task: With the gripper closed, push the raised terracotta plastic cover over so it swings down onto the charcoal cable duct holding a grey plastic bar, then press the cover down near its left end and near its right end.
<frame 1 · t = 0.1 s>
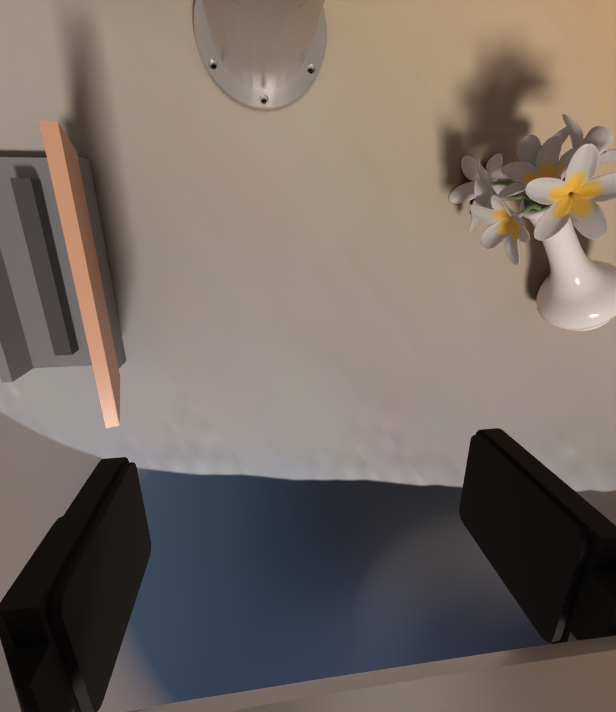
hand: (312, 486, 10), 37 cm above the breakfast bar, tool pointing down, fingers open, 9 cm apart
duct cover: (90, 283, 32), point 11 cm above the breakfast bar, hinge at 108.0°
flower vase: (515, 237, 47), on the breakfast bar
cable duct: (57, 270, 41), on the breakfast bar
grey plastic bar: (57, 270, 41), resting on cable duct
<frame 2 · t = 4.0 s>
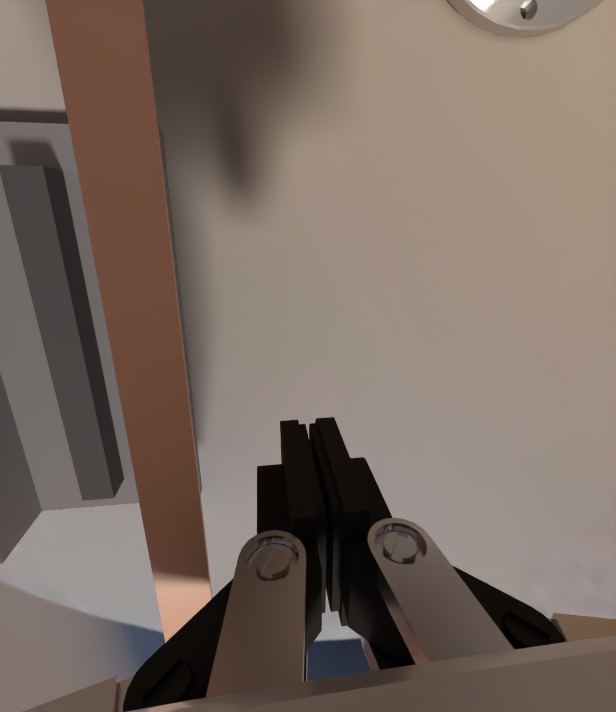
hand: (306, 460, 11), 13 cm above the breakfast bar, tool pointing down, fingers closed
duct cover: (177, 435, 12), point 11 cm above the breakfast bar, hinge at 102.1°, touching gripper
cable duct: (88, 342, 22), on the breakfast bar
grey plastic bar: (88, 342, 22), resting on cable duct
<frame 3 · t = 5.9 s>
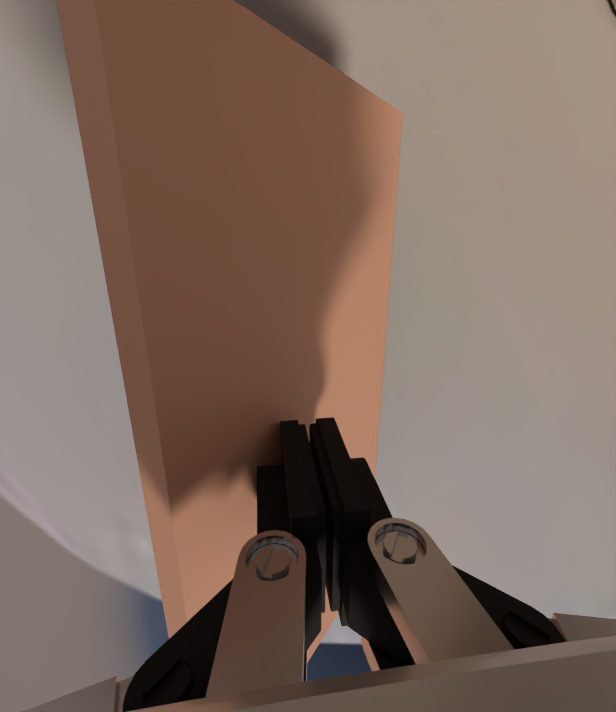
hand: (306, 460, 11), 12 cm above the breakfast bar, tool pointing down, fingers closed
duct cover: (303, 435, 13), point 10 cm above the breakfast bar, hinge at 47.9°, touching gripper
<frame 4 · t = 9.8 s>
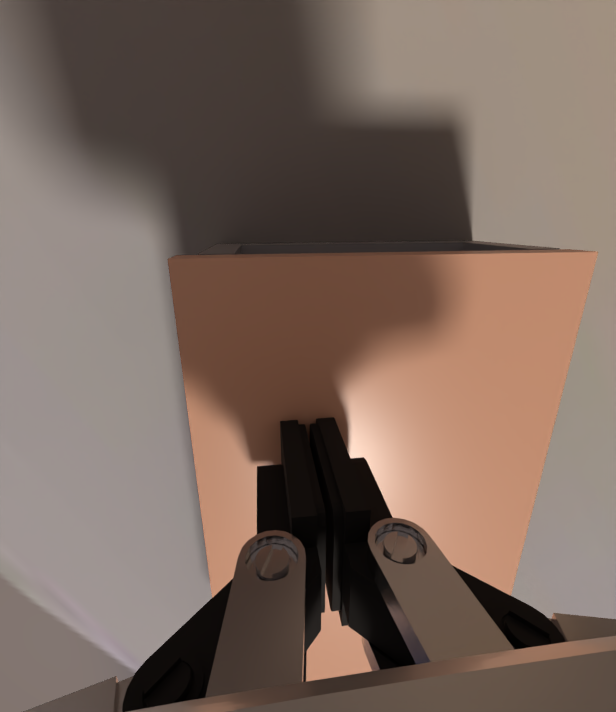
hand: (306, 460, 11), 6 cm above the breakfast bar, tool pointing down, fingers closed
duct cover: (369, 558, 14), point 6 cm above the breakfast bar, hinge at -0.2°, touching gripper
cable duct: (343, 462, 19), on the breakfast bar
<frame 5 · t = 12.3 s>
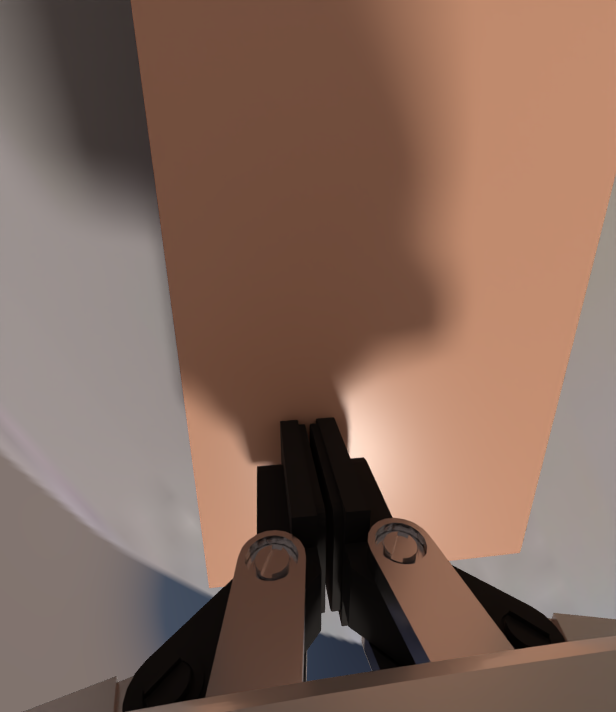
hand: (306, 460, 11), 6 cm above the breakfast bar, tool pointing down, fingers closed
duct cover: (388, 253, 10), point 6 cm above the breakfast bar, hinge at -0.3°, touching gripper
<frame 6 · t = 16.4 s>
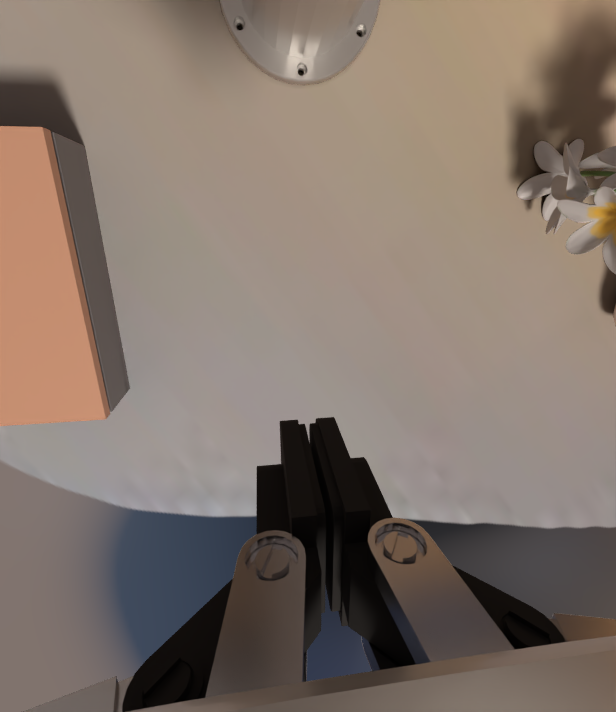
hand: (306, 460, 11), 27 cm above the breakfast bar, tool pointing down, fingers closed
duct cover: (0, 293, 28), point 6 cm above the breakfast bar, hinge at -0.3°
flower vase: (591, 240, 39), on the breakfast bar
cable duct: (45, 281, 34), on the breakfast bar
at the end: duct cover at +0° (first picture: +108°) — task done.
